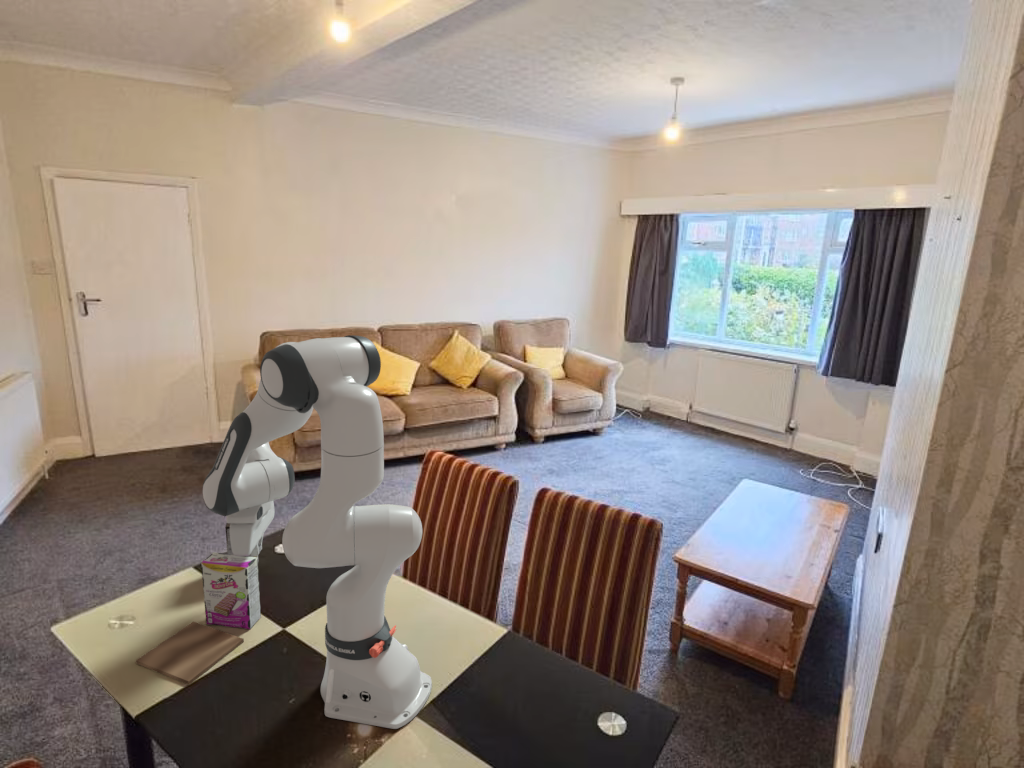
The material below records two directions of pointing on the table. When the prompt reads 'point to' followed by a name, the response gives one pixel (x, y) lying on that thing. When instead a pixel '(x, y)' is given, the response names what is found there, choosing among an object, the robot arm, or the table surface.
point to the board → (190, 652)
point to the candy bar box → (231, 590)
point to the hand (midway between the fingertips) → (256, 553)
